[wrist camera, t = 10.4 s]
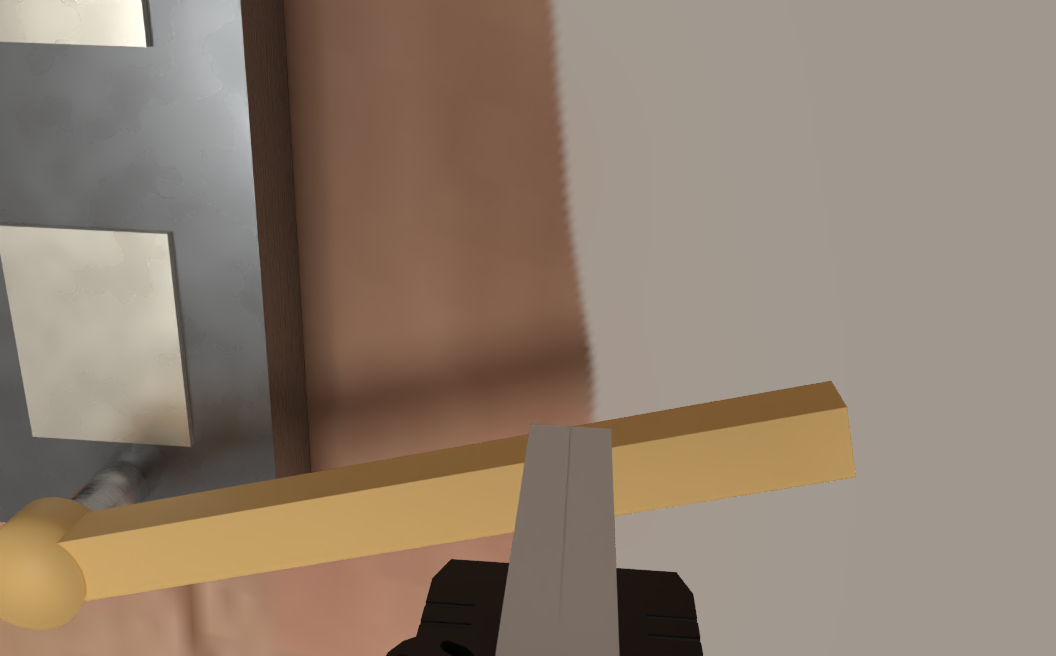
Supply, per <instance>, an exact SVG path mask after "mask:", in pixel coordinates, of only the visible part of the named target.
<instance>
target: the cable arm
mask: <svg viewBox="0 0 1056 656" xmlns="http://www.w3.org/2000/svg"><path fill="white" fill-rule="evenodd" d="M573 427H590V428H607V429H611V438H612V466H613V493H614V516H617V515H624V514H630V513H636V512H643V511H649V510H655V509H661V508H667V507H673V506H680V505H686V504H692V503H699V502H705V501H711V500H717V499H724V498H730V497H736V496H742V495H748V494H754V493H761V492H767V491H773V490H779V489H786V488H792V487H798V486H804V485H811V484H817V483H823V482H829V481H836V480H842V479H848V478H854V477H856V473H855V466H854V458H853V450H852V442H851V434H850V426H849V419H848V410H847V406H846V405H845V403H844V401H843V400H842V398H841V396H840V395H839V393H838V392H837V390H836V388H835V387H834V385H833V383H832V382H831V381H828V382H823V383H817V384H811V385H805V386H799V387H794V388H788V389H782V390H777V391H771V392H765V393H760V394H755V395H749V396H743V397H737V398H732V399H726V400H721V401H714V402H709V403H704V404H697V405H692V406H687V407H680V408H675V409H669V410H664V411H658V412H652V413H647V414H641V415H635V416H630V417H624V418H618V419H613V420H607V421H602V422H596V423H590V424H584V425H579V426H573ZM528 436H529V434H528V435H522V436H516V437H511V438H505V439H499V440H494V441H488V442H482V443H477V444H471V445H465V446H460V447H454V448H448V449H443V450H437V451H431V452H426V453H420V454H414V455H409V456H403V457H397V458H392V459H386V460H380V461H375V462H369V463H363V464H358V465H352V466H346V467H341V468H335V469H329V470H324V471H318V472H312V473H307V474H301V475H295V476H290V477H284V478H278V479H273V480H267V481H261V482H256V483H250V484H244V485H239V486H233V487H227V488H222V489H216V490H210V491H205V492H199V493H194V494H188V495H182V496H177V497H171V498H165V499H160V500H154V501H148V502H143V503H137V504H131V505H126V506H120V507H114V508H109V509H103V510H97V511H92V510H91V509H89V508H88V507H86V506H84V505H82V504H80V503H78V502H76V501H73V500H70V499H66V498H59V497H47V498H41V499H37V500H35V501H32V502H31V503H29V504H27V505H26V506H25V507H24V508H22V509H21V510H20V511H19V512H18V513H17V514H16V515H14V516H13V517H12V518H11V519H10V520H9V521H8V522H6V523H5V524H4V525H3V526H2V527H1V528H0V618H1V619H3V620H5V621H6V622H8V623H10V624H13V625H15V626H18V627H21V628H25V629H31V630H49V629H53V628H57V627H59V626H62V625H64V624H65V623H67V622H68V621H69V620H71V619H72V618H73V617H74V615H75V614H76V613H77V612H78V611H79V610H80V608H81V607H82V606H83V605H84V604H85V603H86V601H89V600H95V599H101V598H108V597H114V596H120V595H126V594H132V593H139V592H145V591H151V590H157V589H164V588H170V587H176V586H182V585H188V584H195V583H201V582H207V581H213V580H220V579H226V578H232V577H238V576H244V575H251V574H257V573H263V572H269V571H276V570H282V569H288V568H294V567H300V566H307V565H313V564H319V563H325V562H332V561H338V560H344V559H350V558H356V557H363V556H369V555H375V554H381V553H388V552H394V551H400V550H406V549H412V548H419V547H425V546H431V545H437V544H444V543H450V542H456V541H462V540H468V539H475V538H481V537H487V536H493V535H500V534H506V533H512V532H514V529H515V522H516V515H517V509H518V502H519V496H520V489H521V482H522V476H523V469H524V463H525V456H526V449H527V443H528Z"/></svg>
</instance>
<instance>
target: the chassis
mask: <svg viewBox="0 0 1056 656" xmlns="http://www.w3.org/2000/svg"><path fill="white" fill-rule="evenodd" d="M307 473H311V464H310V447H309V431H308V414H307V397H306V380H305V363H304V346H303V329H302V312H301V296H300V279H299V262H298V245H297V228H296V211H295V194H294V177H293V161H292V144H291V127H290V110H289V93H288V76H287V59H286V42H285V26H284V9H283V0H0V522H8V521H9V520H10V519H11V518H12V517H13V516H14V515H16V514H17V513H18V512H19V511H20V510H21V509H22V508H24V507H25V506H26V505H27V504H29V503H31V502H32V501H35V500H37V499H41V498H47V497H59V498H66V499H70V500H73V501H76V502H78V503H80V504H82V505H84V506H86V507H88V508H89V509H91V510H92V511H97V510H103V509H109V508H114V507H120V506H126V505H131V504H137V503H143V502H148V501H154V500H160V499H165V498H171V497H177V496H182V495H188V494H194V493H199V492H205V491H210V490H216V489H222V488H227V487H233V486H239V485H244V484H250V483H256V482H261V481H267V480H273V479H278V478H284V477H290V476H295V475H301V474H307Z"/></svg>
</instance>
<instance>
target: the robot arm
mask: <svg viewBox="0 0 1056 656" xmlns="http://www.w3.org/2000/svg"><path fill="white" fill-rule="evenodd" d="M386 656H703V652H702V645H701V643H700V633H699V627H698V623H697V615H696V609H695V603H694V597H693V593H692V592H691V591H690V590H689V588H688V587H687V585H686V584H685V583H684V582H683V580H682V579H681V578H680V577H679V575H678V574H677V573H676V572H665V571H650V570H635V569H621V568H616V549H615V521H614V493H613V466H612V438H611V429H607V428H590V427H573V426H556V425H539V424H530V430H529V436H528V443H527V449H526V456H525V463H524V469H523V476H522V482H521V489H520V496H519V502H518V509H517V515H516V522H515V529H514V535H513V542H512V548H511V555H510V562H509V563H499V562H485V561H470V560H455V559H451V560H450V561H449V562H448V563H447V564H446V565H445V566H444V567H443V568H442V569H441V570H440V571H439V572H438V573H437V574H436V575H435V576H434V577H433V578H432V582H431V585H430V589H429V593H428V596H427V600H426V606H425V607H424V610H423V614H422V618H421V624H420V625H419V628H418V632H417V636H416V637H414V638H411V639H408V640H405V641H403V642H401V643H400V644H399V645H397V646H396V647H395V648H393V649H392V650H391V651H389V652H388V653H387V655H386Z"/></svg>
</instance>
